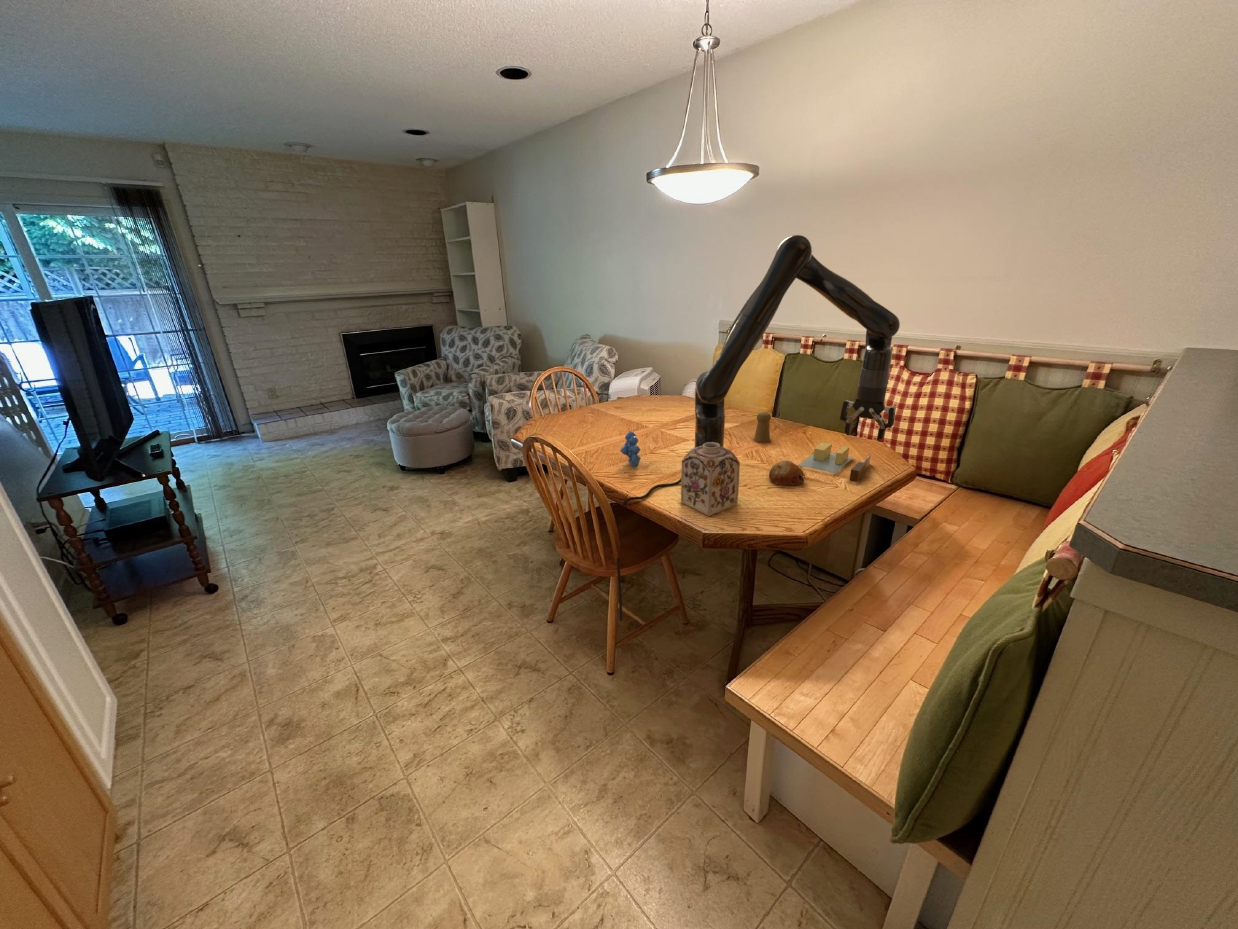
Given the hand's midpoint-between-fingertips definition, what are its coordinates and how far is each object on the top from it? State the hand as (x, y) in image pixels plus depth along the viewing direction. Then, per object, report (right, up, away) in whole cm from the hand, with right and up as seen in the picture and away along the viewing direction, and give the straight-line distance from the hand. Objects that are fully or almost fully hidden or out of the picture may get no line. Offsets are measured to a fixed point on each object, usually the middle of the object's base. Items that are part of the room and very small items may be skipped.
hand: (863, 437), depth 144 cm
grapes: (-70, -9, +23) cm, 74 cm away
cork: (-18, +1, +43) cm, 46 cm away
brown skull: (-21, -13, +7) cm, 26 cm away
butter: (-3, -6, +21) cm, 22 cm away
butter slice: (+1, -7, +17) cm, 19 cm away
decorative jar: (-48, -20, -7) cm, 52 cm away
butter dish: (-3, -8, +18) cm, 20 cm away
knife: (+3, -12, +8) cm, 15 cm away
